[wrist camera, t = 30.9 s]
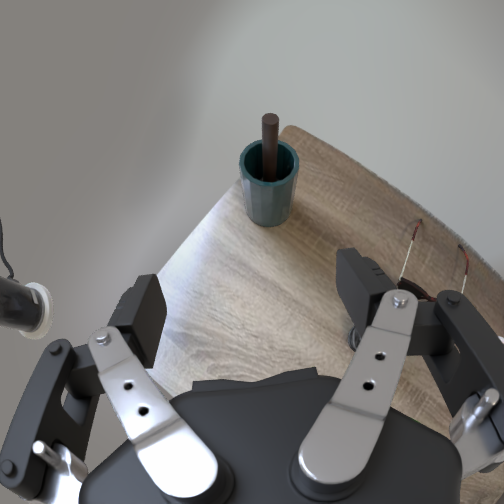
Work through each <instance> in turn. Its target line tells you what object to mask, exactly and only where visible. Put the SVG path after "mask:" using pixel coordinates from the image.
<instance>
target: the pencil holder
mask: <svg viewBox="0 0 504 504" xmlns="http://www.w3.org/2000/svg"><path fill="white" fill-rule="evenodd" d="M239 168H240V175H241V182H242V189H243V196H244V203H245V208H246V212H247V215H248V216H249V218H250V219H251V220H252V221H253V222H254V223H256V224H258V225H260V226H264V227H274V226H277V225H280V224H282V223H283V222H284V221H286V220H287V218H288V217H289V215H290V213H291V210H292V206H293V200H294V194H295V189H296V183H297V177H298V171H299V157H298V155H297V153H296V151H295V150H294V149H293V148H292V147H291V146H290V145H288V144H287V143H285V142H282V141H280V140H278V152H277V172H276V178H278V179H279V180H280V181H276V182H262V181H259V180H260V179H261V178H263V151H262V140H258V141H255V142H253V143H251V144H250V145H248V146H247V147H246V148H245V149H244V151H243V152H242V153H241V155H240V160H239Z"/></svg>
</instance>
